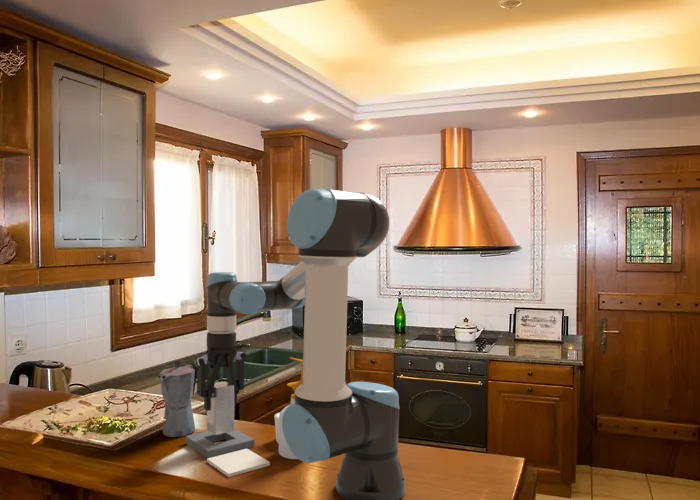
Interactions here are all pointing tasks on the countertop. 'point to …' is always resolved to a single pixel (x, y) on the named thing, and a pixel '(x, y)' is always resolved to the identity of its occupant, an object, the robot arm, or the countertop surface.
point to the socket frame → (209, 449)
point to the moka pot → (178, 399)
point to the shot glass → (277, 426)
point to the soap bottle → (283, 446)
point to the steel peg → (222, 408)
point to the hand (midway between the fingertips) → (220, 419)
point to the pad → (238, 462)
